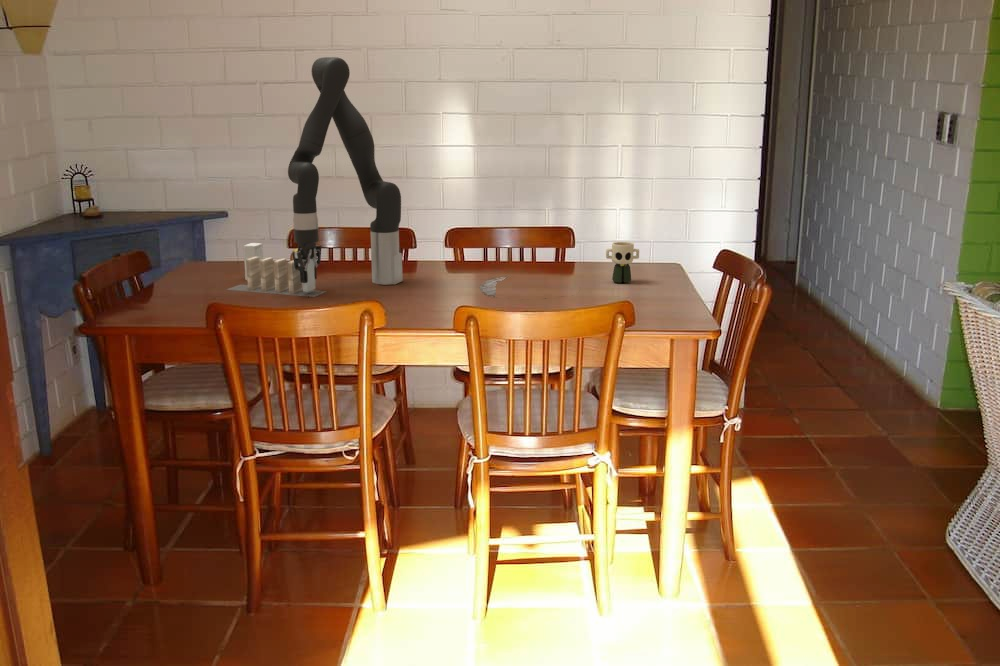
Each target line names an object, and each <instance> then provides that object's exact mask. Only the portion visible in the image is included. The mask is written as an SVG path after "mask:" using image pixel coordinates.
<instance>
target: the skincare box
mask: <svg viewBox="0 0 1000 666" xmlns="http://www.w3.org/2000/svg"><path fill="white" fill-rule="evenodd" d="M242 249H243V261H244V262H243V263H244V278H245V281H248V280H247V267H246V259H248V258H252V257H259V262H260V260H262V259H264V254H263V253H264V251H263V243H262V242H261V243H259V242H250V243H247V244H245V245H243V247H242ZM260 276H261V273H260Z"/></svg>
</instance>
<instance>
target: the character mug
mask: <svg viewBox="0 0 1000 666" xmlns="http://www.w3.org/2000/svg"><path fill="white" fill-rule="evenodd" d="M634 244H635V243H634V242H629V241H615V242H612V243H611V248H607V249H606V250H605V258H606V259H607V260H609V259H610V260H611V261H612V263H613V264H614V267H613V272H612V278H611V280H612V281H613V282H615V283H622V282H623V283H630V282H631V281H632V273H631V272H632V271H631V266H630V264H632V263H633V261H634V260H638V259H640V248H634ZM610 252H611V255H610ZM635 252H636V253H635ZM634 253H635V254H636V255H634Z"/></svg>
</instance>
